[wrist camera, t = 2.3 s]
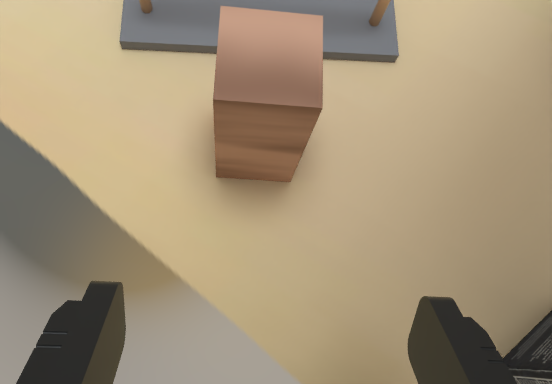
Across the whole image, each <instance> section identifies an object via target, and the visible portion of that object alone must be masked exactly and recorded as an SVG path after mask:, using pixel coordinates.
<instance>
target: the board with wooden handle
mask: <svg viewBox="0 0 552 384" xmlns="http://www.w3.org/2000/svg"><path fill="white" fill-rule="evenodd" d="M221 6H229V7H239V8H249V9H259V10H270V11H280V12H290V13H300V14H311V15H321V16H323V59H338V60H358V61H378V62H395V61H396V59H397V58H398V56H399V53H398V43H397V32H396V21H395V11H394V0H124V1H123V12H122V22H121V32H120V44H121V46H122V49H136V50H156V51H177V52H197V53H217V45H218V32H219V20H220V7H221Z"/></svg>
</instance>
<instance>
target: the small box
mask: <svg viewBox="0 0 552 384" xmlns="http://www.w3.org/2000/svg"><path fill="white" fill-rule="evenodd" d="M503 360H504V364H506V365H507V367H508V369H509V370H510V372H511V374H512V375H513V377H514V379H515V380H516V382H517V384H552V311H551V312H550V313H549V314H548V315H547V316H546V317H545V318H544V319H543V320H542V321H541V322H540V323H539V324H538V325H536V326H535V328H534V329H532V330H531V331H530V332H529V333H528V334H527V335H526V336H525V337H524V338H523V339H522V340H521V341H520V342H519V343H518V344H517V345H516V346H515V347H514V348H513V349H512V350H511V351H510V352H509V353H508V354H507V355H506V356H505V357H504V358H503Z"/></svg>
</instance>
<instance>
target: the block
mask: <svg viewBox="0 0 552 384" xmlns="http://www.w3.org/2000/svg"><path fill="white" fill-rule="evenodd" d="M322 94H323V16H321V15H311V14H300V13H290V12H280V11H270V10H259V9H249V8H239V7H229V6H221V7H220V20H219V32H218V45H217V58H216V70H215V83H214V95H213V108H214V133H215V158H216V177H225V178H240V179H256V180H271V181H286V182H290V181H291V179H292V176H293V174H294V172H295V170H296V167H297V165H298V163H299V160H300V158H301V156H302V154H303V151H304V149H305V147H306V144H307V142H308V140H309V138H310V135H311V133H312V131H313V128H314V126H315V124H316V122H317V119H318V117H319V115H320V112H321V110H322Z"/></svg>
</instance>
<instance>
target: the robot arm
mask: <svg viewBox="0 0 552 384" xmlns="http://www.w3.org/2000/svg"><path fill="white" fill-rule="evenodd" d="M125 327H126V325H125V311H124V295H123V285H122V283H121V282H105V281H91V282H90V284H89V286H88V288H87V290H86V293H85V295H84V297H83V299H82V301H71V300H68V301H67V302H65V303H64V304H63V305H62V306H61V307H60V308H58V309H57V310H56V311H55V312H54V313H53V314H52V315H51V317H50V319H49V321H48V323H47V325H46V327H45V329H44V331H43V334H42V335H41V336H40V338H39V340H38V342H37V344H36V348H34V350H33V352H32V354H31V356H30V358H29V360H28V362H27V364H26V365H25V367H24V369H23V371H22V373H21V375H20V377H19V379H18V381H17V383H16V384H113V381H114V378H115V375H116V371H117V368H118V364H119V361H120V358H121V354H122V351H123V347H124V341H125V331H126V328H125ZM408 355H409V360H410V363H411V365H412V368H413V371H414V373H415V376H416V379H417V381H418V384H517V382H516V380H515V379H514V377H513V375H512V374H511V372H510V370H509V369H508V367H507V365H506V364H504V360H503V359H502V357H501V355H500V354H499V352H498V351H496V347H495V345H494V343H493V342H492V340H491V338H490V337H489V335H488V333H487V332H486V331H485V330H484V329H483V328H482V327H481V326H480V325H479V324H478V323H476V322H475V321H474V320H473V319H472V318H471V317H463V315H462V314H461V312H460V310H459V308H458V306H457V305H456V303H455V301H454V300H453V299H452V298H450V297H428V296H424V297H422V298H421V300H420V302H419V305H418V308H417V311H416V315H415V318H414V321H413V325H412V328H411V331H410V334H409V338H408Z"/></svg>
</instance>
